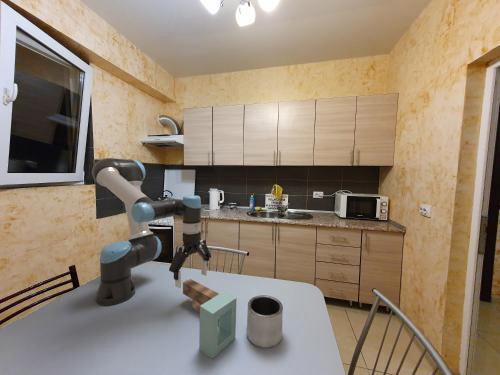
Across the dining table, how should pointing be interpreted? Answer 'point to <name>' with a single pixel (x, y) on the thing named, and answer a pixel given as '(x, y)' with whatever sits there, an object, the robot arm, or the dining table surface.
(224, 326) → the green rectangular frame
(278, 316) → the planter
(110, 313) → the dining table surface
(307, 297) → the dining table surface
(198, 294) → the brown wooden long bar
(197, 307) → the rail
